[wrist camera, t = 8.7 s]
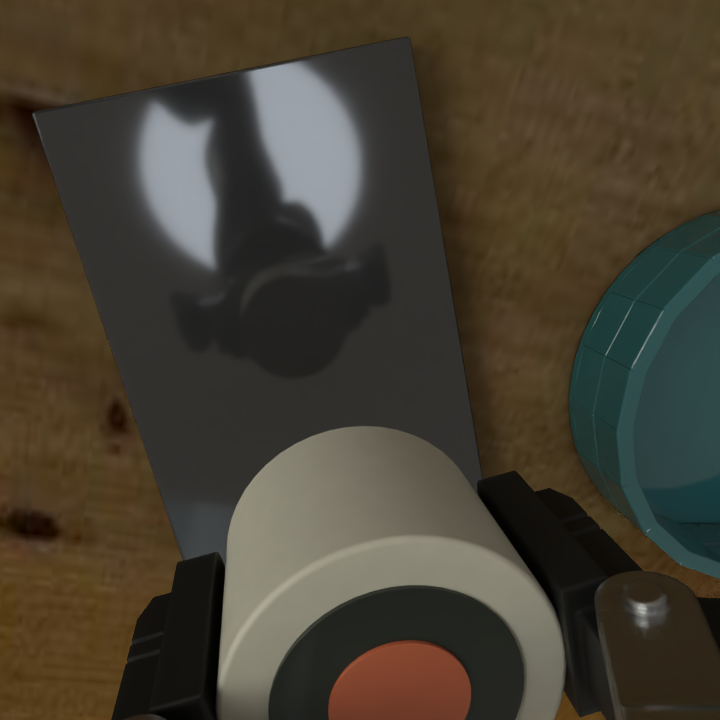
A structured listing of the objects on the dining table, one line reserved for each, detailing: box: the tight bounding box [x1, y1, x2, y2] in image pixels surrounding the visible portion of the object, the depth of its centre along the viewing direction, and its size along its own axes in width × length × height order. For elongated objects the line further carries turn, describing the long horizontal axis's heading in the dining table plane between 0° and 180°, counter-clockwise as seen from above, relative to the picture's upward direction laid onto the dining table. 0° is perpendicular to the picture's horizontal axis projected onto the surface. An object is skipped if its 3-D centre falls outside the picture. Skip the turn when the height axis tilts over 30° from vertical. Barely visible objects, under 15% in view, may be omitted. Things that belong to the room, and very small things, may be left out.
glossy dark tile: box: [32, 36, 483, 565], centre depth 22 cm, size 11×20×1 cm, turn 11°
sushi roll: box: [215, 426, 566, 720], centre depth 11 cm, size 5×5×4 cm
